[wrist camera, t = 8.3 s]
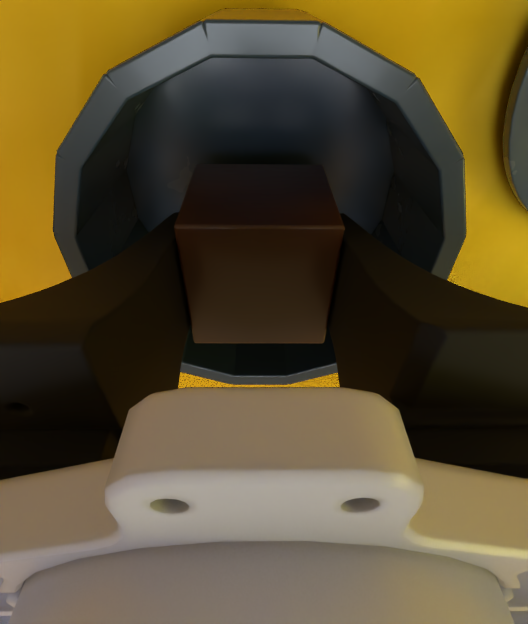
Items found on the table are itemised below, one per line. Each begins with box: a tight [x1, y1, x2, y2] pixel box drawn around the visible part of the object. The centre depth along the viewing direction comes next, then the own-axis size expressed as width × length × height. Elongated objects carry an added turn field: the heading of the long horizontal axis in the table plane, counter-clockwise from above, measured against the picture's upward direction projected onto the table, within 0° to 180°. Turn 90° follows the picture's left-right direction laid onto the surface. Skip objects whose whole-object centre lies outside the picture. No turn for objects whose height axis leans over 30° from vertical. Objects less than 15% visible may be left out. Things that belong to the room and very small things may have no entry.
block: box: [174, 164, 345, 343], centre depth 11 cm, size 4×4×4 cm
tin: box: [53, 8, 466, 385], centre depth 12 cm, size 11×11×5 cm
